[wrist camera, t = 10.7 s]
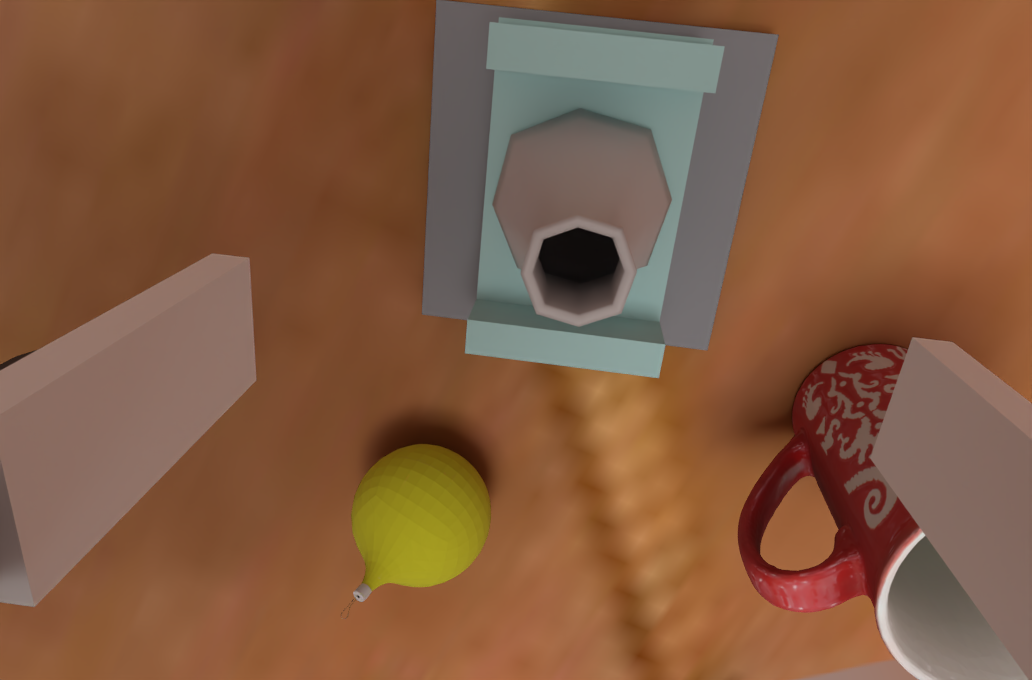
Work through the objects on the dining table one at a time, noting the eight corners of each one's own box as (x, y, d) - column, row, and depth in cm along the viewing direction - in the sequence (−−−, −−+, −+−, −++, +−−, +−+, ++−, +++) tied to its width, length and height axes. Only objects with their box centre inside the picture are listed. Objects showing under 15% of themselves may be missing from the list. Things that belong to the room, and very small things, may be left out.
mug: (961, 304, 32) (1192, 461, 20) (968, 466, 36) (1171, 688, 23) (689, 359, 35) (746, 530, 22) (718, 506, 38) (782, 727, 26)
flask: (667, 284, 29) (705, 391, 20) (497, 286, 30) (458, 390, 21) (675, 103, 26) (721, 131, 17) (487, 111, 27) (436, 142, 18)
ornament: (352, 486, 40) (282, 618, 31) (410, 396, 37) (353, 510, 28) (458, 546, 41) (421, 691, 32) (522, 463, 38) (502, 594, 29)
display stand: (426, 307, 35) (393, 360, 29) (441, 1, 30) (403, -12, 24) (704, 342, 34) (728, 403, 28) (772, 35, 29) (820, 31, 23)
